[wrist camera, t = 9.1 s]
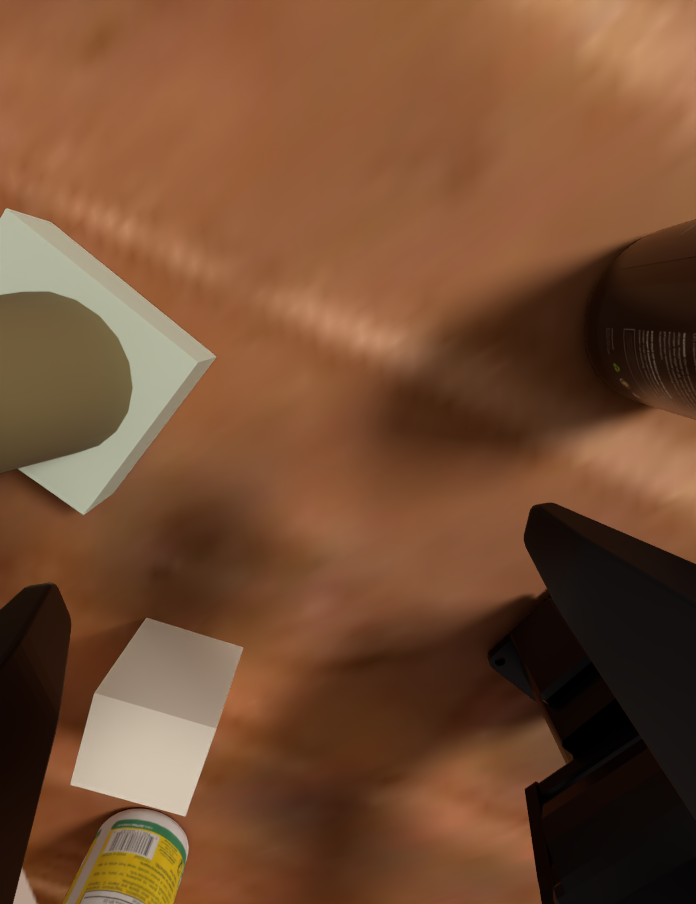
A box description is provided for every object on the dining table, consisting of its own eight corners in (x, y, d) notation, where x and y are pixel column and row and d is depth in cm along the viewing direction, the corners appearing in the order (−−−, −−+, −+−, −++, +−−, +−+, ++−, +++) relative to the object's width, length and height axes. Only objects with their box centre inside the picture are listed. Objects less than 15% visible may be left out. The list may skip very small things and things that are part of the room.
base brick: (216, 356, 20) (198, 362, 18) (113, 493, 22) (83, 515, 19) (50, 222, 19) (6, 208, 16) (-46, 378, 20) (-99, 387, 18)
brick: (243, 646, 24) (216, 728, 19) (217, 721, 25) (185, 816, 21) (147, 616, 24) (94, 692, 19) (124, 694, 25) (70, 784, 20)
